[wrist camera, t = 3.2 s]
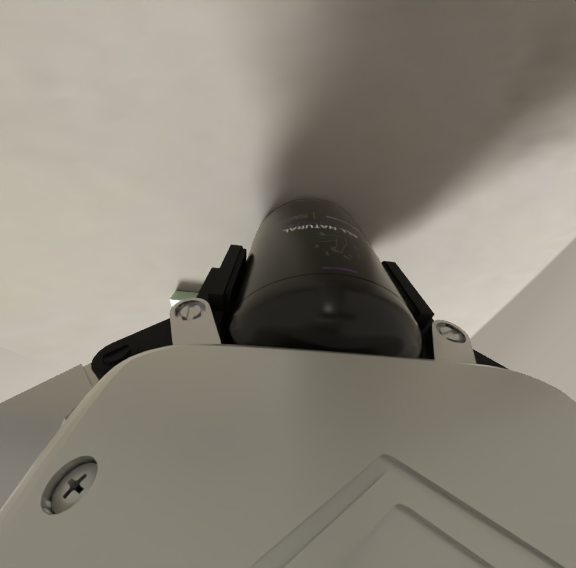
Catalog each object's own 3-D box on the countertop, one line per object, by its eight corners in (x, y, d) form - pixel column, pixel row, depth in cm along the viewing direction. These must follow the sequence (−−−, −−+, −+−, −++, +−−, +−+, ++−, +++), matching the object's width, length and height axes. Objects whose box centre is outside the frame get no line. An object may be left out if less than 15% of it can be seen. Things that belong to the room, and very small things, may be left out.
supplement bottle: (332, 169, 12) (555, 416, 2) (373, 265, 15) (527, 525, 5) (230, 233, 14) (88, 502, 4) (287, 303, 17) (285, 540, 7)
